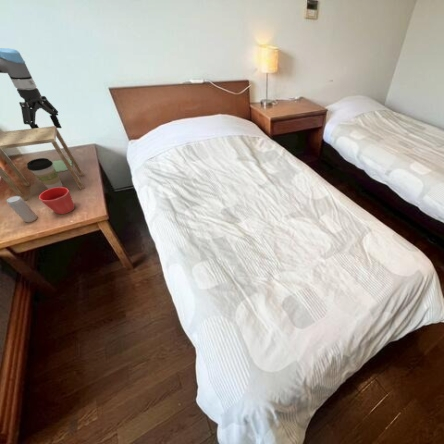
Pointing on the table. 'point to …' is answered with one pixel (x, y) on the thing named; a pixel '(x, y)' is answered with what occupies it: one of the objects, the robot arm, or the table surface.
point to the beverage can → (21, 208)
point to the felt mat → (60, 165)
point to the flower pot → (57, 200)
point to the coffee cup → (45, 172)
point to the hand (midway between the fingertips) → (49, 132)
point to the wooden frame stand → (32, 138)
